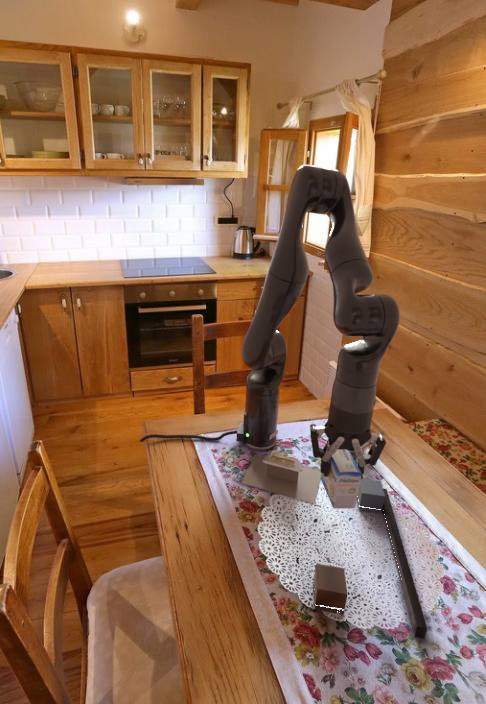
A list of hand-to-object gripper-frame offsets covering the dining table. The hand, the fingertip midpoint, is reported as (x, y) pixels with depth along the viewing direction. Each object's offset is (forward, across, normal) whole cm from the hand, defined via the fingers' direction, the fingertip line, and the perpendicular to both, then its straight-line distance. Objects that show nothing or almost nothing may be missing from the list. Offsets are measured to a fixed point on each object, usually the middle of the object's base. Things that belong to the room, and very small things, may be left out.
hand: (340, 475), depth 79 cm
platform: (+17, +10, -17) cm, 26 cm away
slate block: (+17, -10, -12) cm, 23 cm away
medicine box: (+5, 0, 0) cm, 5 cm away
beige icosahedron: (+17, -8, -31) cm, 36 cm away
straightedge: (+17, -13, +1) cm, 21 cm away
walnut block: (+17, +1, +13) cm, 21 cm away
